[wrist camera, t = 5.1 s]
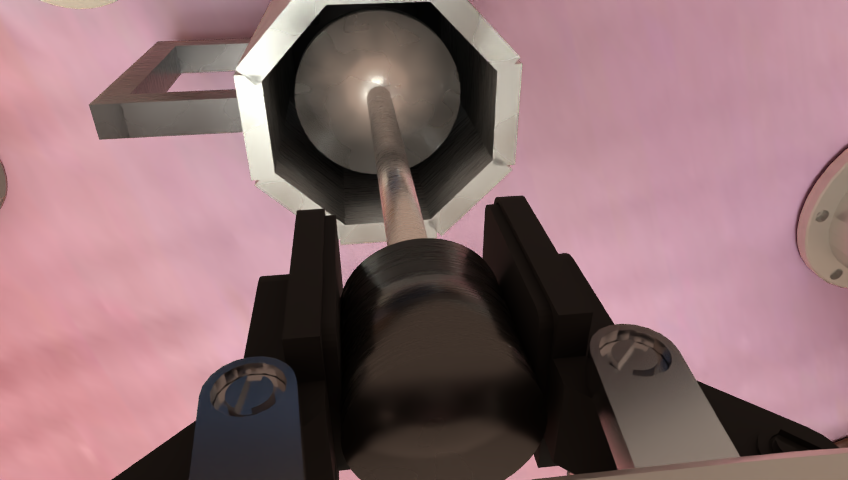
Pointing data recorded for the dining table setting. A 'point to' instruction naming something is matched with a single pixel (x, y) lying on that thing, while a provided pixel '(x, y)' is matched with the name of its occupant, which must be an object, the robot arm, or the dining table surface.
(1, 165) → the wine glass
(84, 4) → the pillar candle
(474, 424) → the plunger
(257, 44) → the press carafe
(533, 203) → the dining table surface
